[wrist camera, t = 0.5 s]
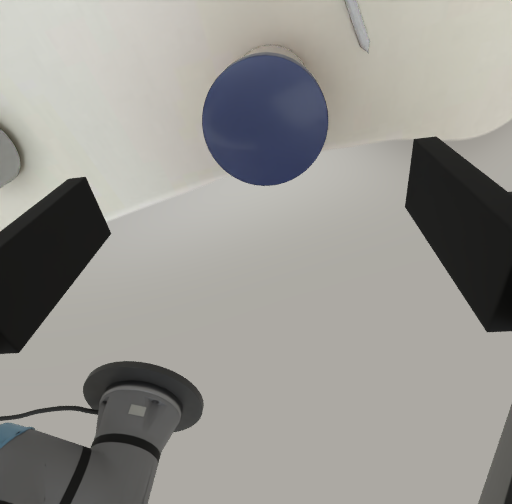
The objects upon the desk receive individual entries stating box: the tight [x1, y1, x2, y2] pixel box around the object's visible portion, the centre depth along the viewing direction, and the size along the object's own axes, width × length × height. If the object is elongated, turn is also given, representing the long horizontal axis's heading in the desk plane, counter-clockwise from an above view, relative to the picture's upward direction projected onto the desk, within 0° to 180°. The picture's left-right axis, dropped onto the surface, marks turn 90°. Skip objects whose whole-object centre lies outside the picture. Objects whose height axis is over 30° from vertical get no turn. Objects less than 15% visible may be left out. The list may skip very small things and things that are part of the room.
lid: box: [202, 52, 328, 186], centre depth 23 cm, size 8×8×2 cm
